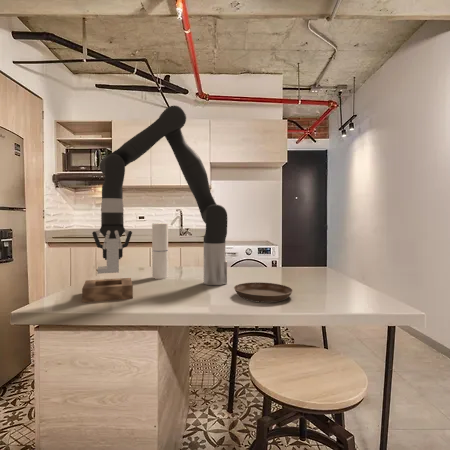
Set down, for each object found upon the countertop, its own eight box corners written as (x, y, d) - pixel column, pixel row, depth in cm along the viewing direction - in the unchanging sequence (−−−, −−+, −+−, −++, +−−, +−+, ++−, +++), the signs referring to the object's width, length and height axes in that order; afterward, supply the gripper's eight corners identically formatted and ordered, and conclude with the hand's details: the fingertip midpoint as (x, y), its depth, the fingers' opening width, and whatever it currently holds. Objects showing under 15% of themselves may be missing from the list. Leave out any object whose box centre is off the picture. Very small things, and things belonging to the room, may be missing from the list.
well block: (130, 289, 123) (130, 277, 122) (132, 298, 109) (132, 285, 109) (85, 292, 117) (85, 280, 117) (82, 302, 104) (82, 288, 104)
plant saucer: (280, 289, 124) (280, 280, 124) (302, 303, 104) (302, 293, 104) (229, 291, 121) (229, 282, 121) (241, 306, 101) (241, 296, 100)
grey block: (118, 269, 117) (118, 237, 117) (118, 272, 111) (118, 238, 111) (98, 270, 115) (98, 237, 114) (97, 273, 109) (97, 239, 109)
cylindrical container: (149, 278, 144) (148, 223, 143) (158, 275, 151) (157, 223, 150) (162, 279, 141) (162, 223, 141) (171, 276, 148) (170, 223, 147)
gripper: (132, 211, 119) (132, 257, 119) (91, 211, 114) (92, 258, 115) (133, 211, 112) (133, 259, 112) (90, 211, 107) (90, 261, 108)
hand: (112, 259), depth 113 cm, fingers closed on grey block, 4 cm apart
